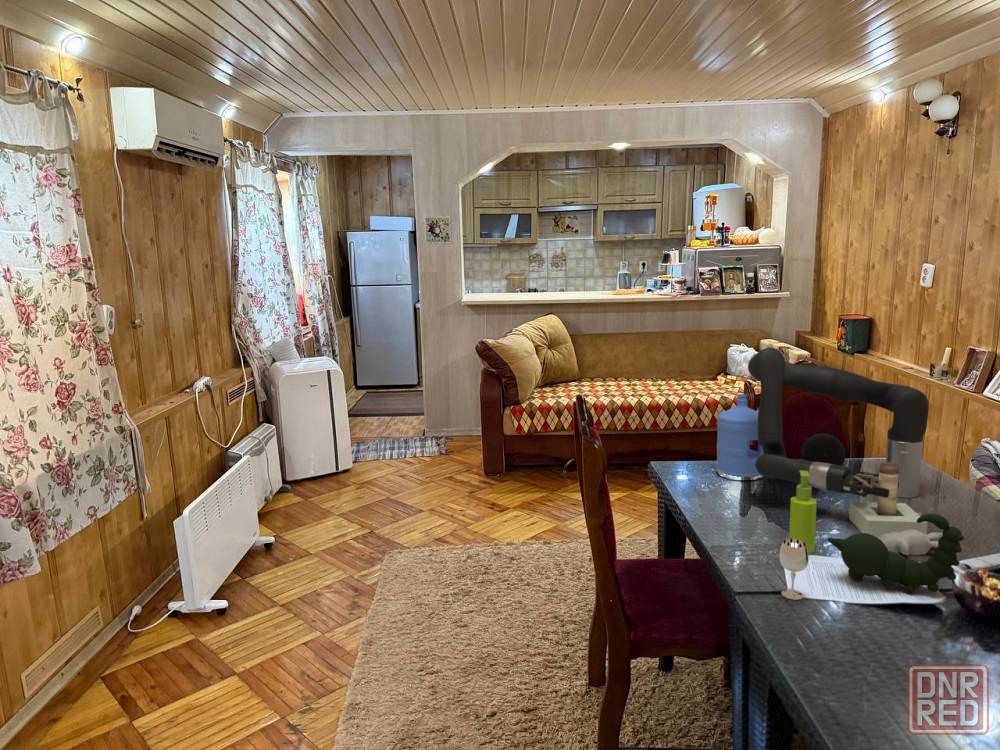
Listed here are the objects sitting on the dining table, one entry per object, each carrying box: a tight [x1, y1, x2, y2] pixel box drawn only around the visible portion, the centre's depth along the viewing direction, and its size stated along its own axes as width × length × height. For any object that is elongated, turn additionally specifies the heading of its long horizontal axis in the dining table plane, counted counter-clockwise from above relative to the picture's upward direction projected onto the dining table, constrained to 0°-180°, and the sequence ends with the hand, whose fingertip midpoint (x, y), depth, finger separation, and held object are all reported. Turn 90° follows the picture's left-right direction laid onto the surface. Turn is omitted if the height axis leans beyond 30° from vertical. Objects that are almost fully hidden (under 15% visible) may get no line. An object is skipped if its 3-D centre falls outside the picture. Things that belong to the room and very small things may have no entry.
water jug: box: [715, 393, 764, 477], centre depth 223 cm, size 16×16×28 cm
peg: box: [877, 461, 899, 516], centre depth 175 cm, size 4×4×18 cm
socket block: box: [848, 501, 929, 538], centre depth 176 cm, size 14×14×5 cm
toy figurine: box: [826, 513, 965, 595], centre depth 145 cm, size 9×19×25 cm
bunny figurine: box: [879, 529, 941, 556], centre depth 162 cm, size 10×5×15 cm
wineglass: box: [778, 538, 809, 601], centre depth 143 cm, size 6×6×12 cm
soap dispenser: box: [788, 470, 818, 555], centre depth 165 cm, size 6×7×20 cm
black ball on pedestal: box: [801, 433, 846, 466], centre depth 219 cm, size 13×13×15 cm
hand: (893, 489), depth 174 cm, fingers open, 8 cm apart
